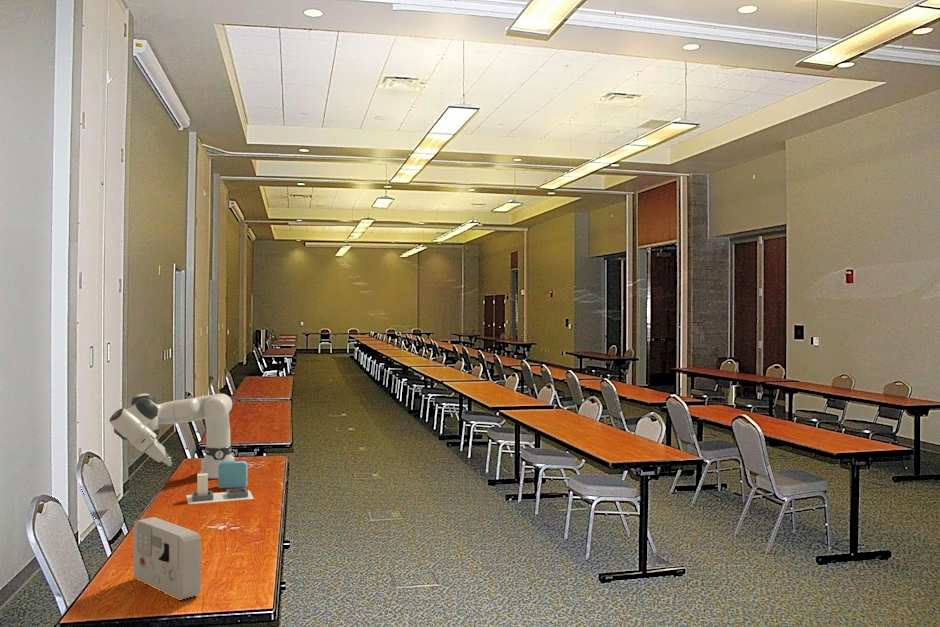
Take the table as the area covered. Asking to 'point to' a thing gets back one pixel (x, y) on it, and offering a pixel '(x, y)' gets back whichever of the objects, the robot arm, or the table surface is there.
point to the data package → (232, 474)
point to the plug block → (202, 484)
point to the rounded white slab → (167, 557)
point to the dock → (220, 496)
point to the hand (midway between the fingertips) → (170, 462)
